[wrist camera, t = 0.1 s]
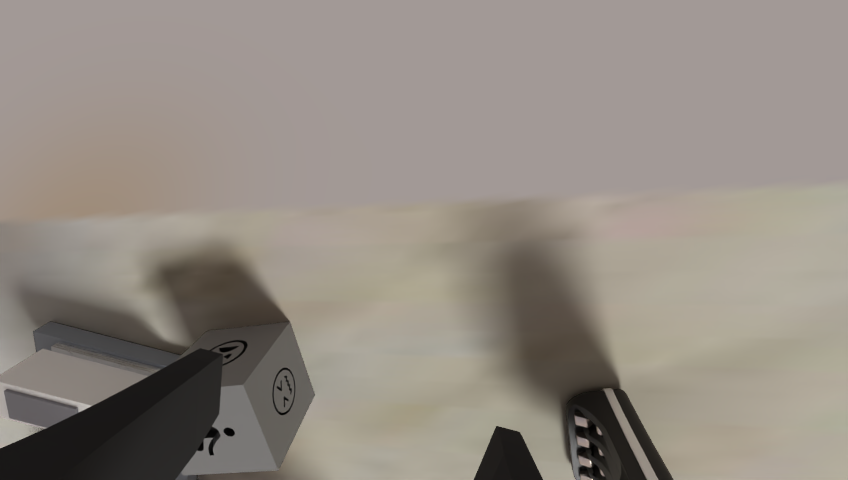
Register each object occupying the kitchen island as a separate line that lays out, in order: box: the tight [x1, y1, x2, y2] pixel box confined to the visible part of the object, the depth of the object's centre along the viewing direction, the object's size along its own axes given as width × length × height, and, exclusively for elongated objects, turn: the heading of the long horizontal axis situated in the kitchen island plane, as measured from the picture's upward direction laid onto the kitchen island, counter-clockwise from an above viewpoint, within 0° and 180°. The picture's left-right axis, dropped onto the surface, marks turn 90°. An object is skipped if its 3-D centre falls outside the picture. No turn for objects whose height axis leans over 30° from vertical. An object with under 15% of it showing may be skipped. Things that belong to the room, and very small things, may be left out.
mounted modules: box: [0, 349, 148, 429], centre depth 23 cm, size 13×7×3 cm, turn 166°
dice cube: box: [176, 322, 315, 476], centre depth 20 cm, size 5×5×5 cm
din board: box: [33, 322, 197, 480], centre depth 25 cm, size 14×9×2 cm, turn 166°
